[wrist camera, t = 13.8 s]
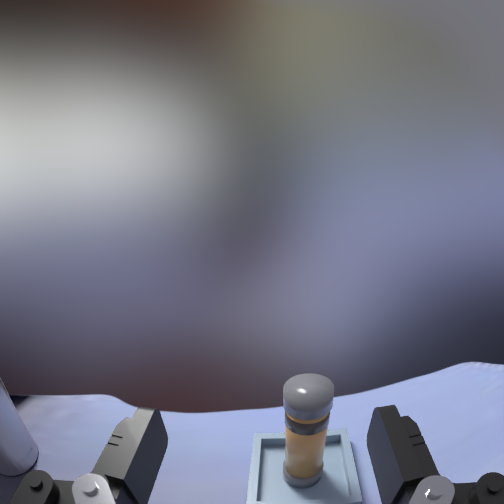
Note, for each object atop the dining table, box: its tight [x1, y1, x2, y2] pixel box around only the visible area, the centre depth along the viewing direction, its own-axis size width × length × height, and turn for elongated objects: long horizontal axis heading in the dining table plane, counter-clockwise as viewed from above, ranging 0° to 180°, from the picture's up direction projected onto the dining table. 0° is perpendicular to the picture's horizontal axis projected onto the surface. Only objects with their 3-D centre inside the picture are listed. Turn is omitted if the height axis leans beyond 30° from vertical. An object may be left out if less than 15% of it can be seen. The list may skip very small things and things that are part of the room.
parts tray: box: [246, 428, 362, 504], centre depth 29 cm, size 12×12×2 cm
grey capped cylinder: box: [283, 374, 334, 488], centre depth 28 cm, size 5×5×14 cm
